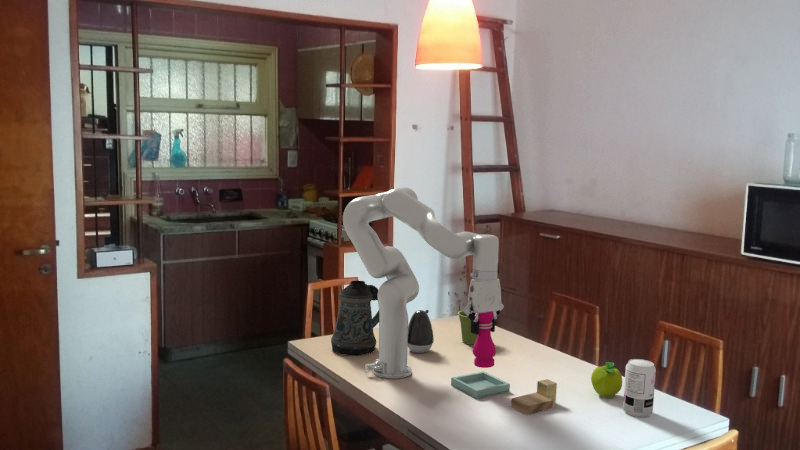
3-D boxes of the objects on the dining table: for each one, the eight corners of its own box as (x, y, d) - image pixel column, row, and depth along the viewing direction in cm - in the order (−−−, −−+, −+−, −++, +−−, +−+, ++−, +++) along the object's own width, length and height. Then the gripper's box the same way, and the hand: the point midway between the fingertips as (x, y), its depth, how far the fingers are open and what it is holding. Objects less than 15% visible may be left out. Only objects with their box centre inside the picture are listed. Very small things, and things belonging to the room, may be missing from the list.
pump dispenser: (438, 350, 263) (440, 309, 261) (424, 357, 255) (425, 315, 253) (414, 345, 269) (416, 305, 267) (399, 351, 260) (401, 310, 258)
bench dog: (545, 404, 213) (546, 385, 212) (536, 400, 216) (537, 381, 216) (555, 402, 215) (556, 383, 214) (546, 398, 218) (547, 379, 218)
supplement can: (618, 407, 213) (621, 358, 211) (645, 407, 213) (649, 358, 211) (629, 418, 205) (633, 367, 203) (657, 418, 205) (661, 367, 203)
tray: (476, 398, 216) (476, 390, 216) (451, 385, 227) (451, 377, 227) (509, 391, 223) (509, 383, 223) (483, 378, 234) (483, 371, 234)
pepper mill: (495, 369, 219) (495, 305, 217) (471, 367, 221) (471, 304, 218) (496, 361, 226) (496, 299, 224) (473, 360, 228) (473, 298, 225)
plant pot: (489, 347, 268) (490, 318, 267) (457, 346, 268) (458, 317, 267) (485, 338, 280) (487, 310, 279) (455, 337, 280) (456, 309, 279)
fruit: (621, 392, 225) (623, 362, 223) (620, 403, 216) (622, 371, 215) (591, 388, 228) (593, 358, 226) (589, 398, 219) (591, 367, 218)
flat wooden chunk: (527, 416, 205) (528, 406, 205) (511, 408, 211) (511, 398, 210) (552, 409, 210) (553, 399, 210) (536, 401, 216) (536, 392, 216)
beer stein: (321, 348, 261) (322, 281, 258) (358, 338, 276) (360, 274, 272) (353, 359, 250) (355, 289, 247) (391, 347, 265) (392, 281, 261)
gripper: (469, 279, 213) (467, 339, 215) (514, 274, 222) (511, 331, 224) (455, 275, 219) (453, 332, 221) (499, 270, 228) (496, 326, 230)
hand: (482, 331), depth 223 cm, fingers closed on pepper mill, 5 cm apart
